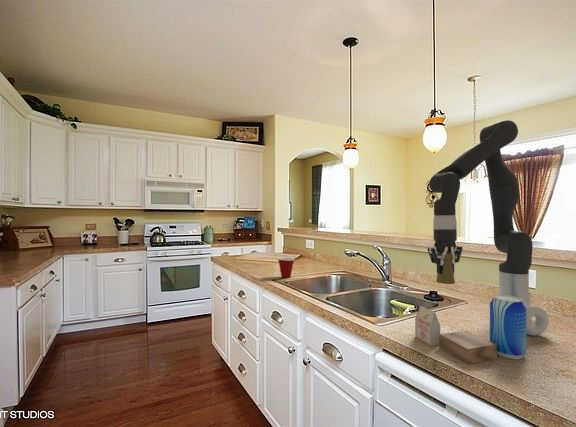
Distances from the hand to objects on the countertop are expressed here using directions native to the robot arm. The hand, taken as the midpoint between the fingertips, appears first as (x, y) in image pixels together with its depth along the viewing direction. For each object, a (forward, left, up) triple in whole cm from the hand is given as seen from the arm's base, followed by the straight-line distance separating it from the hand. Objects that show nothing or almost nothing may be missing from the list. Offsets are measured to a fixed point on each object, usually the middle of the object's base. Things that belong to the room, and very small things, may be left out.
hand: (445, 274), depth 109 cm
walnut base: (+12, +21, -18) cm, 30 cm away
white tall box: (+17, +11, -18) cm, 27 cm away
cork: (0, 0, -3) cm, 3 cm away
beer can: (+1, +24, -18) cm, 30 cm away
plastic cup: (+36, -90, -18) cm, 99 cm away
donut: (-19, +17, -18) cm, 31 cm away
